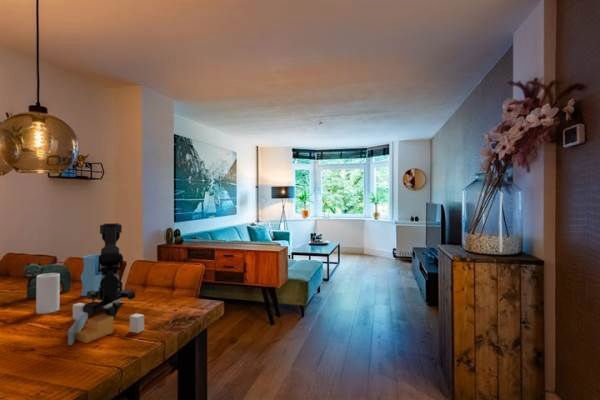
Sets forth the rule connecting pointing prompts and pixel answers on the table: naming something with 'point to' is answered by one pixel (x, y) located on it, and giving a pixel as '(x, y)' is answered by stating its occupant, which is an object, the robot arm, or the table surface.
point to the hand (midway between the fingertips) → (111, 322)
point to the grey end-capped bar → (76, 327)
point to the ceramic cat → (36, 270)
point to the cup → (47, 293)
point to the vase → (90, 274)
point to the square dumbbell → (135, 319)
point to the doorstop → (96, 328)
